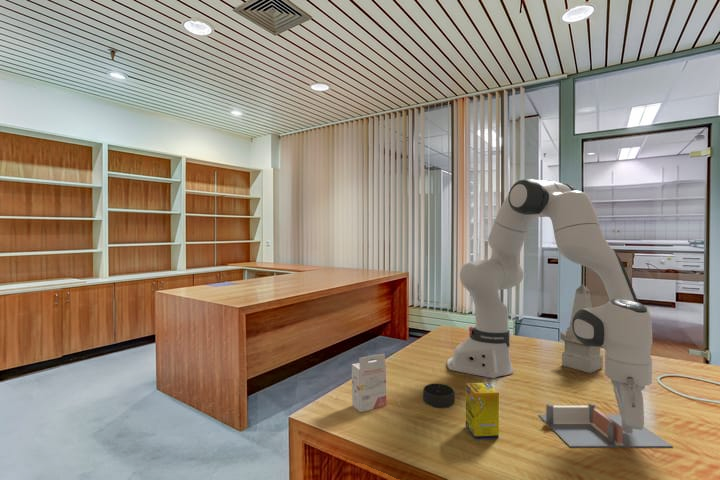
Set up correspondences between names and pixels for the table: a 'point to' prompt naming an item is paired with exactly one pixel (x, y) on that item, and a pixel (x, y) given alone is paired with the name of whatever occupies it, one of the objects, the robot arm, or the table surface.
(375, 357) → the ink cartridge box
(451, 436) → the table surface
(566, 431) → the card
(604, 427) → the fence panel
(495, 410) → the supplement box
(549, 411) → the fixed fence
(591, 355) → the miniature monument
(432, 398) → the smart speaker
